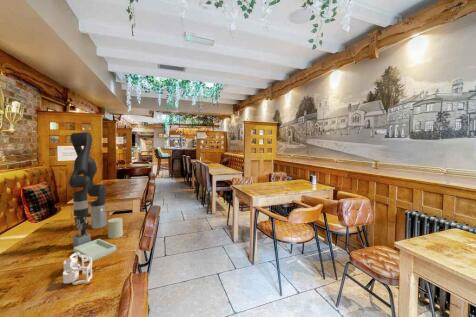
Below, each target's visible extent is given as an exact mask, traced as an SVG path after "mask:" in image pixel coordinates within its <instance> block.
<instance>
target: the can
mask: <svg viewBox="0 0 476 317" xmlns="http://www.w3.org/2000/svg"><path fill="white" fill-rule="evenodd" d="M123 222H124V220H123V218H122V217H112V218H109V219H108V220H107V229H108V230H107V232H108V233H107V238H108V239H111V240H112V239H119V238H121V237H122V236H124V231H123V227H124V225H123Z"/></svg>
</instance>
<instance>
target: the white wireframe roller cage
mask: <svg viewBox="0 0 476 317" xmlns="http://www.w3.org/2000/svg"><path fill="white" fill-rule="evenodd" d="M78 257H79V258H81V264H80V263H79V258H78ZM84 258H87V259H84ZM86 262H89V263H88V265H87V266H85V263H86ZM62 264H63V272H62V282H63V284H70V283H72V285H74V286H75V285H80V284H87V283H89V282H90V281H91V279H92V278H93V261H92V258H91V257H90V256H87V255H81V254H80V253H79V252H76V253H74V252H73V253H72V254H71V255H70V257H69V258H68V259H65V260H64V261H63V263H62ZM80 271H82V275H85V279H83V280H78V279H79V278H80V277H79V272H80ZM77 280H78V281H77Z"/></svg>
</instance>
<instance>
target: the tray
mask: <svg viewBox="0 0 476 317" xmlns="http://www.w3.org/2000/svg"><path fill="white" fill-rule="evenodd" d="M76 252H79V253H80V254H81V255H87V256H90V257H91V258H92V262H94V261H97V260H99V259H101V258H104V257H106V256H108V255H110V254H113V253H115V252H117V245H114V244H112V243H110V242H107V241H105V240H103V239H101V238H97V239H94V240H91V242H88V243H85V244H82V245H79V246H77V247H74V246H73V254H74V253H76ZM84 259H87V258H84Z"/></svg>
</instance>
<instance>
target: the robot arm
mask: <svg viewBox="0 0 476 317" xmlns="http://www.w3.org/2000/svg"><path fill="white" fill-rule="evenodd" d="M70 141H71V144H72V147H73V149H74V151H75V153H76V156H77V157H76V158H75V160H74V163H73V164H74V165H73V171H72V173H71V174H72V175H71V176H70V178H69V180H68V185H69V187H71V188H75V189H76V188H77V189H78V188H82V189H80V190H76V191H74V192H73V194H72V196H73V204H72V208H73V210H72V211H73V216H74V218H73V219H74V224H75V227H76V228H77V229H78V228H79V227H81V235H85V234H86V233H87V231H86V229H88V228H89V222H90V227H91V229H93V230H97V229H102V228H104V227H106V226H108V220H107V212H106V204H105V203H106V195H107V194H106V191H107V190H106V186H105V184H95V183H94V178H95V175H96V173H97V171H98V167H97V164H96V161H95V159H94V158H93V157H92V156H90V153H91V149H92V145H93V136H92V134H91V133H90V132H87V131H83V132H72V133H71V134H70ZM88 197H95V198H96V197H97V199H94V200H92V201H91V202H90V221H89V219H87V215H89V200H88ZM82 226H83V227H82ZM78 234H79V232H78V231H77V235H78Z"/></svg>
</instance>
